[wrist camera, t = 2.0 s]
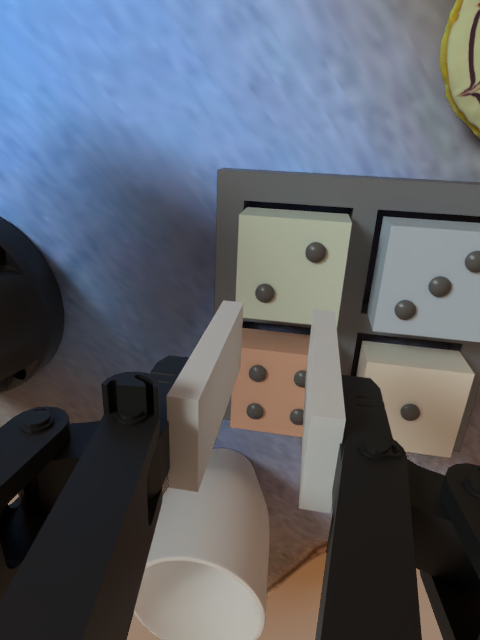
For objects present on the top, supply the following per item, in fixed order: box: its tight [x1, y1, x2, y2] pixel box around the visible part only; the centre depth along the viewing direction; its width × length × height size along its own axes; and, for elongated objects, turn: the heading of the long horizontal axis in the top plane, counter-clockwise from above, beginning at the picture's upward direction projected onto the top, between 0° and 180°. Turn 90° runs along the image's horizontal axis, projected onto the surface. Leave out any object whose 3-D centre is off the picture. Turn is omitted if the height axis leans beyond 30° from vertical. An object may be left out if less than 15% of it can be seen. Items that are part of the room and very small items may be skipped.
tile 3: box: [367, 216, 480, 342], centre depth 24 cm, size 6×6×3 cm
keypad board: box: [214, 168, 480, 452], centre depth 29 cm, size 18×18×2 cm
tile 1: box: [356, 341, 475, 458], centre depth 27 cm, size 6×6×3 cm
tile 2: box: [235, 207, 352, 327], centre depth 25 cm, size 6×6×3 cm
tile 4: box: [230, 328, 310, 437], centre depth 29 cm, size 6×6×3 cm
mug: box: [134, 448, 269, 640], centre depth 33 cm, size 12×9×12 cm
